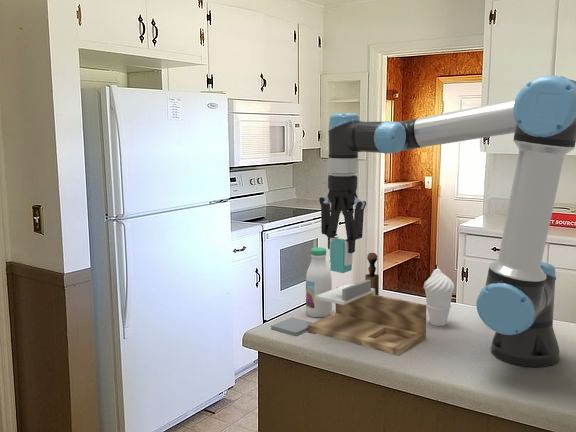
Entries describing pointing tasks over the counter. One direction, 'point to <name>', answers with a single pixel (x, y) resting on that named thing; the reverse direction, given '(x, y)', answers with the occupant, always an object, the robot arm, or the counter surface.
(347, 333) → the brown piece
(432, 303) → the soft serve ice cream cone
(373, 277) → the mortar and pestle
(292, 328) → the coaster
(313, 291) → the milk bottle
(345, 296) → the lid
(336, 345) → the counter surface
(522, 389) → the counter surface
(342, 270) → the block
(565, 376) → the counter surface
